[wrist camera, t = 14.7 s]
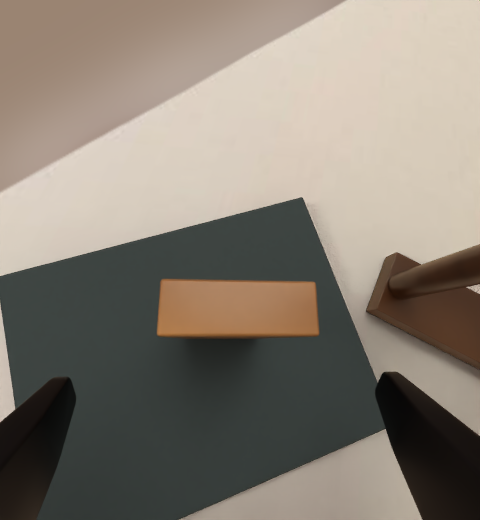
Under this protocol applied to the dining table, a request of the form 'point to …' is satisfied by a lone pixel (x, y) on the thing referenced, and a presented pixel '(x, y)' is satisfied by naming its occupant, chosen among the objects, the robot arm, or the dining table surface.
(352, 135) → the dining table surface
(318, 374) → the rubber mat
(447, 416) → the robot arm
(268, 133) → the dining table surface
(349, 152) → the dining table surface
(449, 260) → the rail stand
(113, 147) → the dining table surface
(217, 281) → the oak block with hole
